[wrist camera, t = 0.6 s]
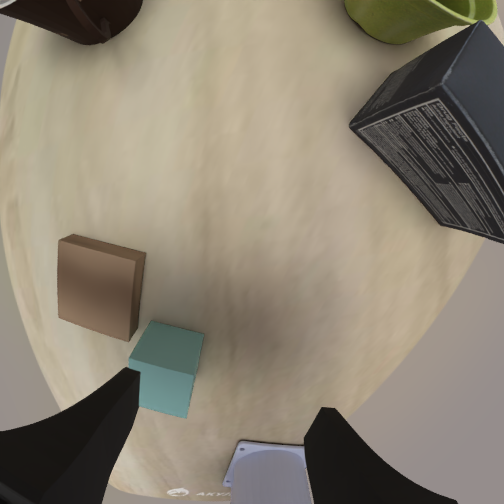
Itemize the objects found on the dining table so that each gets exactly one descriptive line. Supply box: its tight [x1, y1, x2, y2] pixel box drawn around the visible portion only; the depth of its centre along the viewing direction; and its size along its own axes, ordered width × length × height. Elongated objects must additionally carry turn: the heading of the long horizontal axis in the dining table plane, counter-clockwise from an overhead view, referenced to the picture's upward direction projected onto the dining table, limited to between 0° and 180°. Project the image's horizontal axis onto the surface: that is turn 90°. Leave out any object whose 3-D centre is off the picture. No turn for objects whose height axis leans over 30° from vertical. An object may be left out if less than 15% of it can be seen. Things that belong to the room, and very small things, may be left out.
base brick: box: [57, 234, 146, 342], centre depth 18 cm, size 6×6×2 cm
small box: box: [349, 20, 504, 244], centre depth 12 cm, size 11×6×10 cm, turn 52°
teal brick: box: [129, 321, 204, 418], centre depth 19 cm, size 4×4×5 cm
